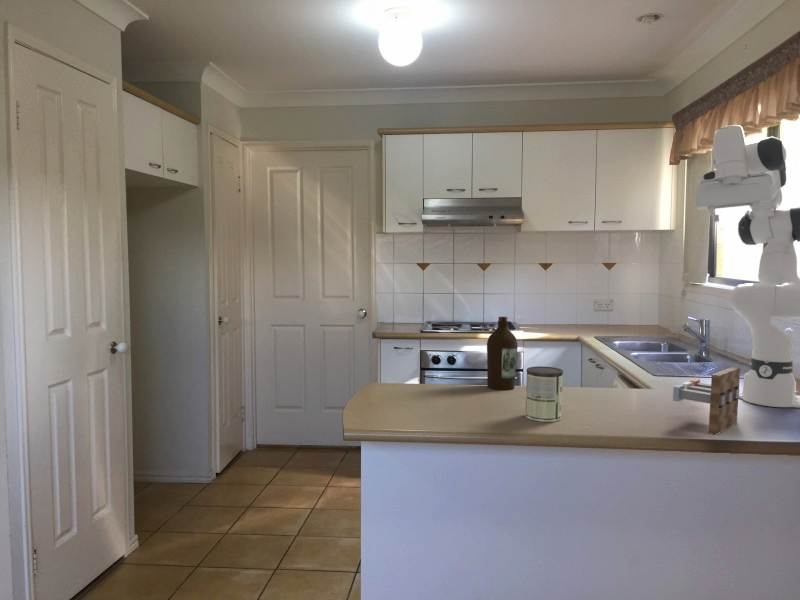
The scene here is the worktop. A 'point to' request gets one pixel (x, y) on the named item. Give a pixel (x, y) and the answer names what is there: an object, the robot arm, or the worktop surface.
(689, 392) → the blue-capped grey rod
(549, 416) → the coffee can
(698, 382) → the brick-red plunger
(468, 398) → the worktop surface
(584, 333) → the worktop surface
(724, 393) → the walnut panel
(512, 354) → the olive oil
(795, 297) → the robot arm
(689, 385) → the off-white plunger
